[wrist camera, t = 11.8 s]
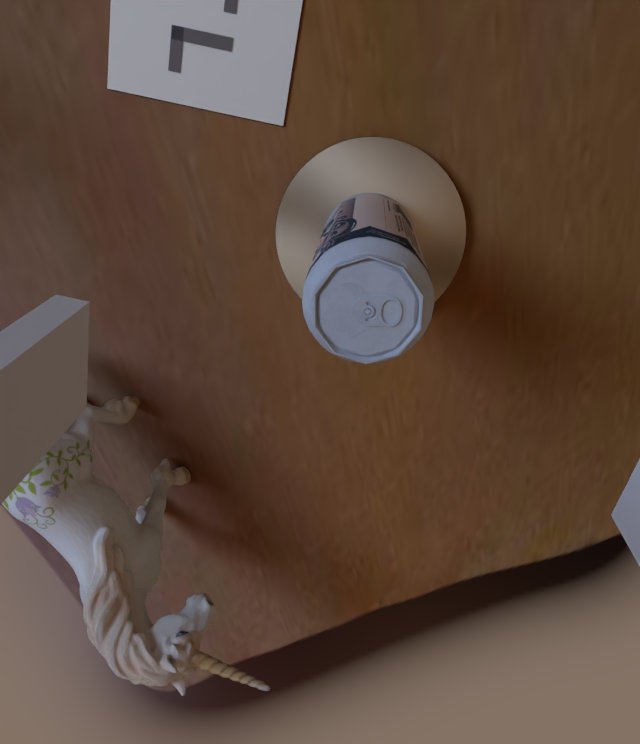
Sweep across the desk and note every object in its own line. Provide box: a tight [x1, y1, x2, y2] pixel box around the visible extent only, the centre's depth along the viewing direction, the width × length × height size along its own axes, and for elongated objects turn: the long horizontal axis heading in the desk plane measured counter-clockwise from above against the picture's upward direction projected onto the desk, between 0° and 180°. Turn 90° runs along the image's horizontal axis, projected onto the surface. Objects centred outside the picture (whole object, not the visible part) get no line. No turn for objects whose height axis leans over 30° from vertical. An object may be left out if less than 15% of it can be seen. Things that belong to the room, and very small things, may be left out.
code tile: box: [107, 0, 303, 126], centre depth 29 cm, size 9×9×1 cm
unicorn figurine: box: [2, 396, 270, 695], centre depth 34 cm, size 7×20×13 cm, turn 48°
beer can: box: [302, 193, 434, 364], centre depth 27 cm, size 5×5×12 cm
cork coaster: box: [276, 137, 466, 302], centre depth 32 cm, size 10×10×1 cm
